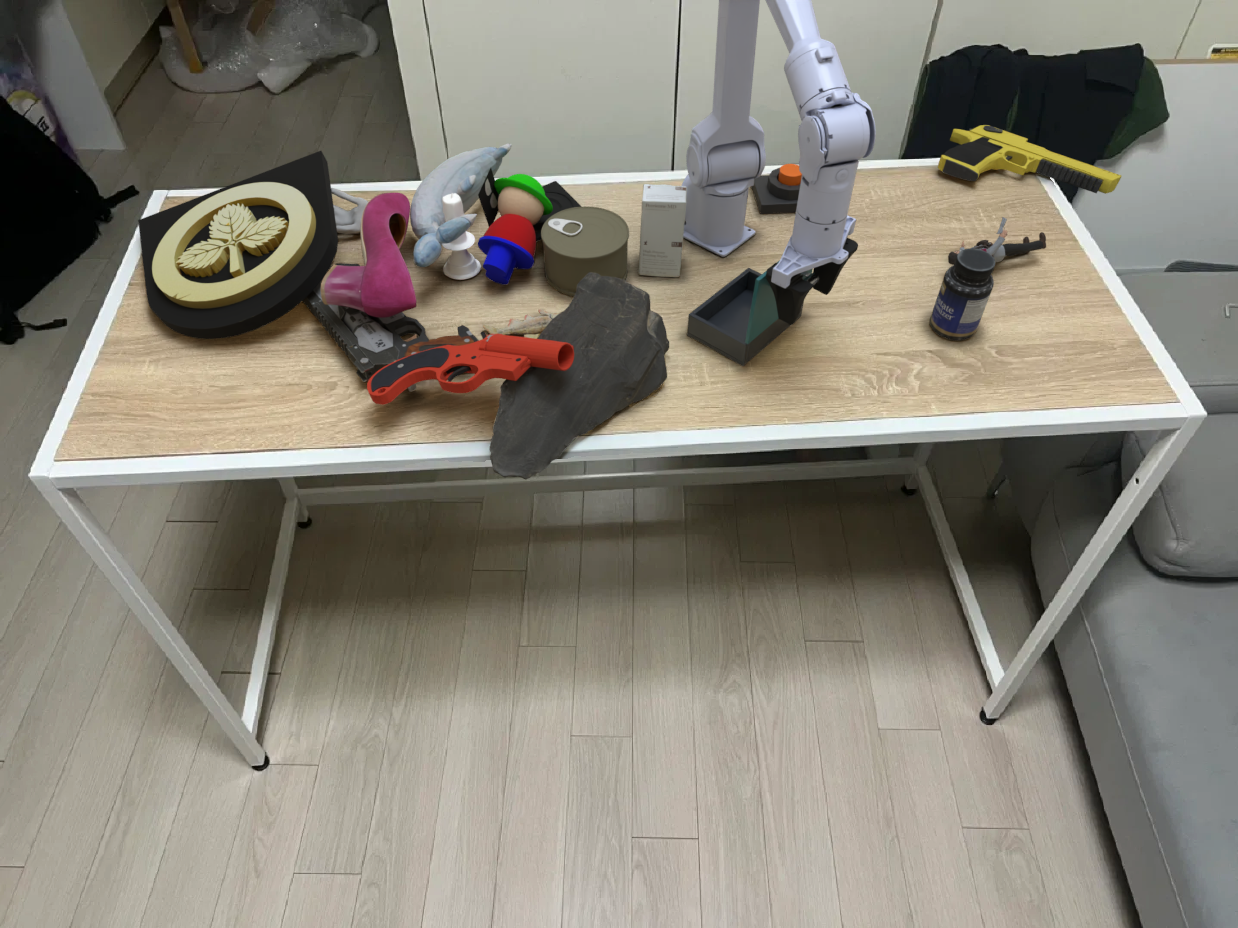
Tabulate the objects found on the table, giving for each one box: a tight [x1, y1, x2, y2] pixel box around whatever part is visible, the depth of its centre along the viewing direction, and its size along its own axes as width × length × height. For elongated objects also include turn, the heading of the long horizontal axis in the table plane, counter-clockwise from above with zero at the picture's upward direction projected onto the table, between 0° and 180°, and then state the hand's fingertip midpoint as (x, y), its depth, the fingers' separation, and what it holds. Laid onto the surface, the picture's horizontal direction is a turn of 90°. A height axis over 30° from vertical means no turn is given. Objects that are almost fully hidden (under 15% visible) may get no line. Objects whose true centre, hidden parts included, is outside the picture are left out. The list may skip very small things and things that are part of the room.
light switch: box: [533, 180, 583, 243], centre depth 137 cm, size 10×4×10 cm
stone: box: [489, 272, 670, 480], centre depth 112 cm, size 16×12×30 cm
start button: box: [778, 163, 802, 186], centre depth 141 cm, size 4×4×2 cm
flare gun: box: [366, 330, 574, 406], centre depth 108 cm, size 3×23×15 cm
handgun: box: [937, 124, 1122, 195], centre depth 147 cm, size 4×26×15 cm
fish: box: [482, 308, 561, 339], centre depth 123 cm, size 12×2×5 cm
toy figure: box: [477, 168, 553, 286], centre depth 129 cm, size 9×10×15 cm
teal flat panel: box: [745, 259, 820, 344], centre depth 115 cm, size 10×13×4 cm
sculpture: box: [409, 143, 513, 268], centre depth 130 cm, size 18×8×25 cm
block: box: [751, 167, 800, 215], centre depth 143 cm, size 10×8×4 cm
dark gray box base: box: [686, 267, 805, 367], centre depth 123 cm, size 9×13×4 cm
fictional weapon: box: [301, 262, 480, 392], centre depth 123 cm, size 28×4×15 cm
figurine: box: [331, 187, 369, 235], centre depth 137 cm, size 10×6×20 cm
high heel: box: [321, 192, 417, 318], centre depth 124 cm, size 26×9×12 cm
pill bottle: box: [929, 247, 996, 342], centre depth 120 cm, size 6×6×11 cm
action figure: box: [947, 216, 1047, 266], centre depth 131 cm, size 9×7×15 cm
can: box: [541, 205, 630, 298], centre depth 130 cm, size 12×12×7 cm
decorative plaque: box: [137, 150, 339, 340], centre depth 128 cm, size 28×4×30 cm
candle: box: [442, 193, 482, 281], centre depth 128 cm, size 5×5×12 cm
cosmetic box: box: [638, 183, 687, 278], centre depth 128 cm, size 6×4×12 cm
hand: (804, 305), depth 115 cm, fingers open, 7 cm apart
